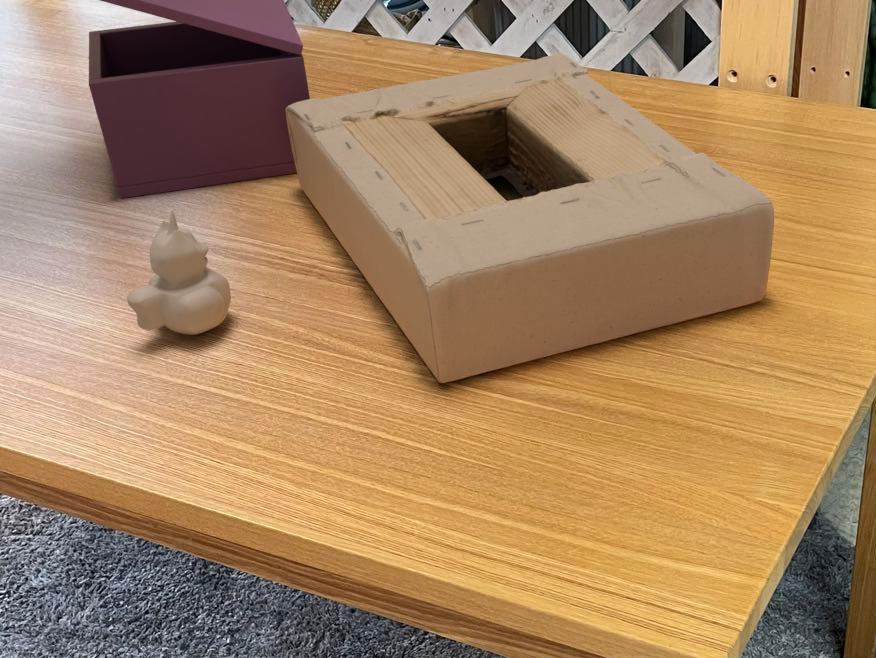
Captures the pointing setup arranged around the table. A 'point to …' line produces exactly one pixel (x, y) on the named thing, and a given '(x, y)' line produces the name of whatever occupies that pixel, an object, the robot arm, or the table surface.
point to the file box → (192, 106)
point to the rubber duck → (180, 285)
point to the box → (526, 213)
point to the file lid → (229, 18)
